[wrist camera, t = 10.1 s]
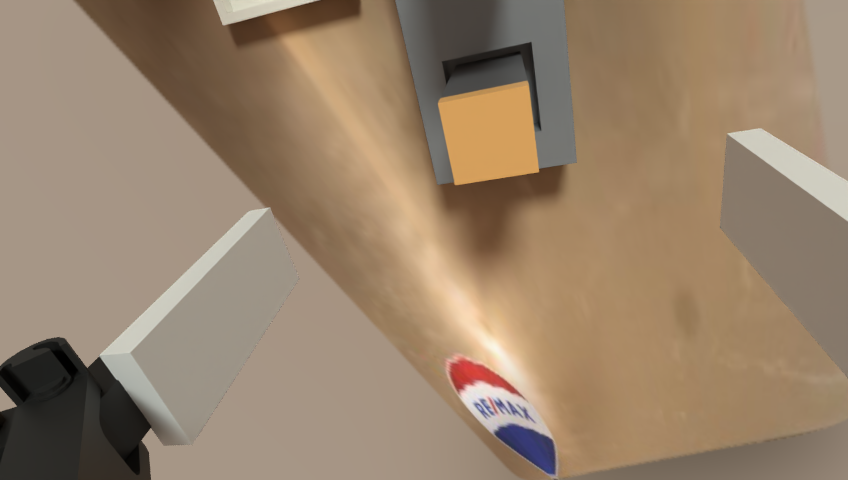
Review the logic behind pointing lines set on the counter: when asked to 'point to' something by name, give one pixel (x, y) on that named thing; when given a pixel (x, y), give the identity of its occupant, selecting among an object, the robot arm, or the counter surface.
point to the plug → (489, 120)
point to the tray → (252, 8)
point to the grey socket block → (483, 38)
